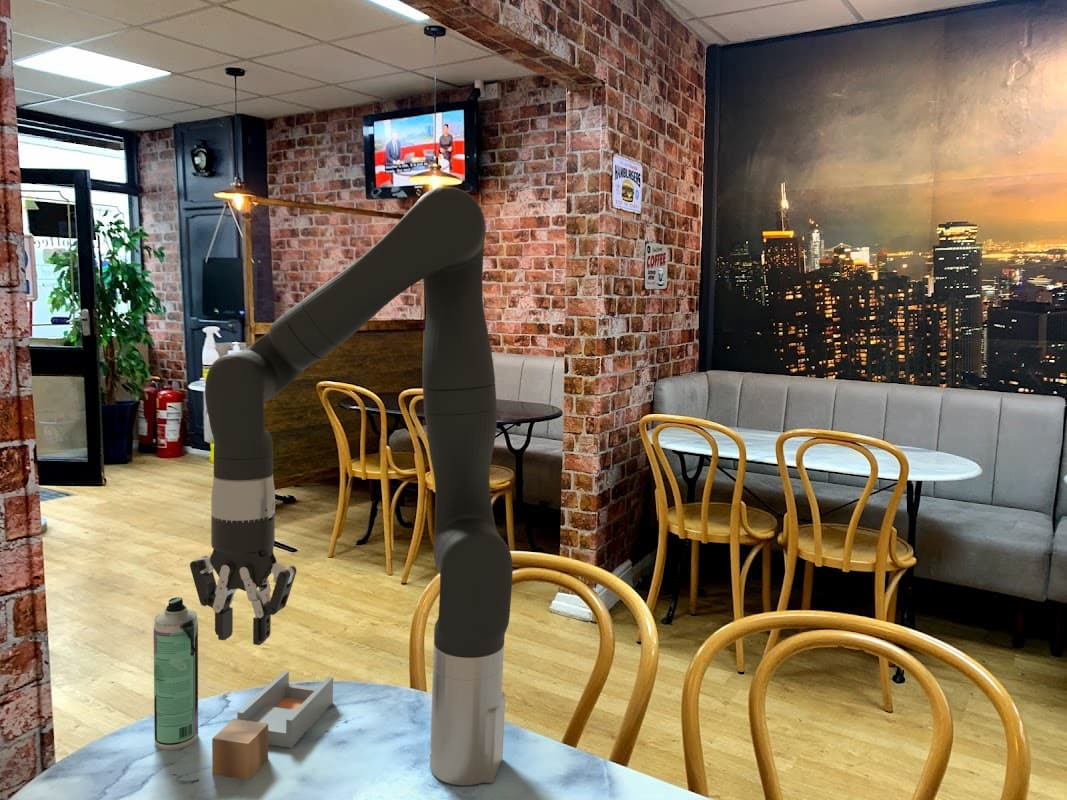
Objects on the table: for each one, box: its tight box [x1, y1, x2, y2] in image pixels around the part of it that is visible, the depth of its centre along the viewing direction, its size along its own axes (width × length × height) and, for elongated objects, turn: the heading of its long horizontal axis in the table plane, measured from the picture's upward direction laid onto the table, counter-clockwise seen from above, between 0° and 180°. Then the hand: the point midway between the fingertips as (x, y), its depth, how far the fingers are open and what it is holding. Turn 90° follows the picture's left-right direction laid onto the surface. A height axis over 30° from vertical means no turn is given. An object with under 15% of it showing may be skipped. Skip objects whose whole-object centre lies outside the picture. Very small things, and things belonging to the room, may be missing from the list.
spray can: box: [153, 596, 199, 751], centre depth 107 cm, size 6×6×20 cm
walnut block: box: [211, 718, 269, 781], centre depth 102 cm, size 5×5×5 cm
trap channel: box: [236, 670, 334, 749], centre depth 114 cm, size 8×13×4 cm, turn 169°
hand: (242, 639), depth 101 cm, fingers open, 4 cm apart
